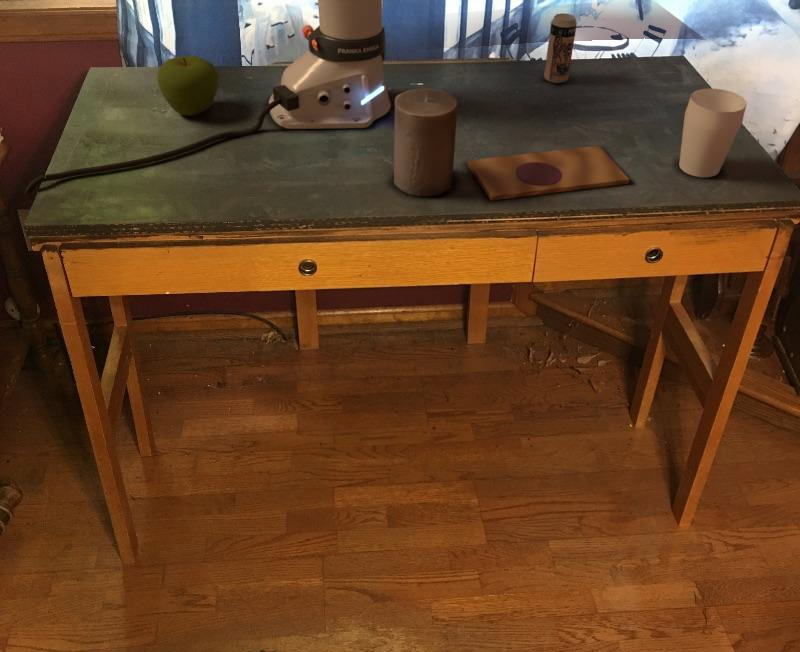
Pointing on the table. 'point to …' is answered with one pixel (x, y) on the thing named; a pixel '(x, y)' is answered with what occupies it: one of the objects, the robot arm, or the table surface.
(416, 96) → the pillar candle
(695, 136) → the cup
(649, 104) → the table surface
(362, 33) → the robot arm
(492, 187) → the wooden board
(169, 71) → the apple
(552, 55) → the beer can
